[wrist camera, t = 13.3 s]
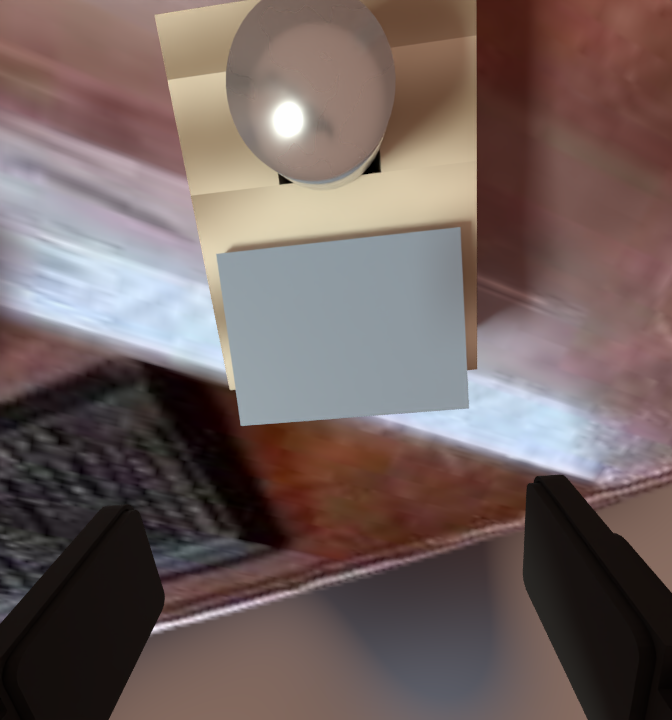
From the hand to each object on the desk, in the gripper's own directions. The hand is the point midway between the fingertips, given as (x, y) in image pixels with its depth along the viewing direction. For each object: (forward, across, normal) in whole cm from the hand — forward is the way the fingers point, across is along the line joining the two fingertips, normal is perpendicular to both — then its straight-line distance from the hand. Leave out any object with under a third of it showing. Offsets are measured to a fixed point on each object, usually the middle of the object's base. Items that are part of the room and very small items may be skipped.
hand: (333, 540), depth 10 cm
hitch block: (+20, 0, -8) cm, 21 cm away
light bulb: (+19, 0, -12) cm, 23 cm away
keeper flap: (+13, 0, -2) cm, 13 cm away
